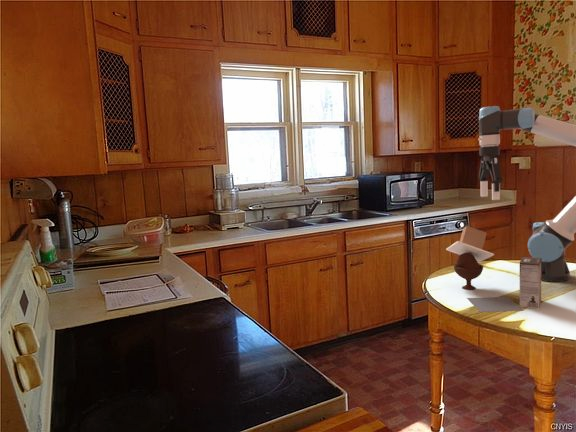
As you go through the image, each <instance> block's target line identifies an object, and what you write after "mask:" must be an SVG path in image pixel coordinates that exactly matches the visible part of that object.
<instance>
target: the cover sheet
mask: <svg viewBox="0 0 576 432" xmlns="http://www.w3.org/2000/svg"><path fill="white" fill-rule="evenodd" d="M487 234H488V233H487V232H486V231H483V230H480V229H477V228H474V227H471V226H468V225H465V226H464V227H463V229H462V232H461V236H460V239H459V240H457V241H455V242H454V243H453V244H451V245H450V246H448V247H447V248H445V250H446V251H448V252H450V253H453V254H456V255H458V256H460V255H461V254H463V253H470V254H472V255H473V256H474V257H475V259H476V260H477V263H481V262H482V261H485V260H487V259H489V258H491V257H493V256H495V253H493V252H490V251H487V250H484V249H483V248H484V245H485V241H486V238H487V237H486V236H487Z"/></svg>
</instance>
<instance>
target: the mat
mask: <svg viewBox="0 0 576 432" xmlns="http://www.w3.org/2000/svg"><path fill="white" fill-rule="evenodd" d="M466 299H467V300H468V302H470V303H471V304H472V305H473V306H474V308H475V309H477V311H478V312H479V313H483V312H485V313H487V312H488V313H489V312H490V313H492V312H517V311H519V312H520V311H521V312H522V311H525V310H524V309H523V307H520V305H519V304H517V303H516V302H514V301H513V300H512V299H511V298H510V297H508V296H488V297H487V296H485V297H466Z"/></svg>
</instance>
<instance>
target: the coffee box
mask: <svg viewBox="0 0 576 432" xmlns="http://www.w3.org/2000/svg"><path fill="white" fill-rule="evenodd" d="M541 264H542V258H533V257H532V256H531V257H529V256H523V257H521V258H520V260H519V307H520V308H529V309H531V308H532V309H537V310H538V309H541V305H542V280H541V266H542V265H541Z"/></svg>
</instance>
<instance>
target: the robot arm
mask: <svg viewBox="0 0 576 432" xmlns="http://www.w3.org/2000/svg"><path fill="white" fill-rule="evenodd" d="M478 130H479V131H478V132H479V135H478V136H479V138H478V139H477V140H478V142H479V143H478V144H479V146H480V147H479V150H478V152H479V156H480V157H481V158H480V166H479V172H478V178H477V179H478V180H479V181H480V183H479V184H480V197H482V198H486V197H487V198H488V197H489V193H488V192H489V190H488V186H489V185H488V182H489V178H488V177H489V173H490V177H491V180H492V181H491V201H499V200H501V182H503V176H502V172H501V165H500V158H499V157H496V156H500V154H501V147H500V146H499V145H500V144H501V132H500V131H504V130H520V131H524V132H527V133H531V134H534V135H537V136H540V137H544V138H547V139H550V140H553V141H557V142H559V143H563V144H567V145H569V146H572V147H576V124H572V123H569V122H566V121H563V120H558V119H555V118H552V117H548V116H545V115H541V114H539V113H535V110H534V108H533V107H521V108H514V109H508V110H507V109H506V110H501V109H500V106H497V105H493V106H484V107H480V109H479V115H478ZM575 234H576V195H575V196H573V198H572V199H571V200H570V201H569V202H568V203H567V204H566V205H565V206H564V207H563V209H561V211H560V212H559V213H557V215H556V216H555V217H553V219H549V220H548V219H546V220H545V221H543V222H542V221H541V222H539V221H538V222H534V223H533V224H532V235H531V236H530V237H529V238H528V241H527V249H528V252H529V253H528V254H530V256H531V257H532V258H542V264H541V265H542V266H541V281H545V282H566V281H569V280H570V278H571V271H570V269H569V267H568V264H567V261H566V249H567V248H568V247H569V246H570V245H571V244H572V243H573V242H574V241H575Z"/></svg>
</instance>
